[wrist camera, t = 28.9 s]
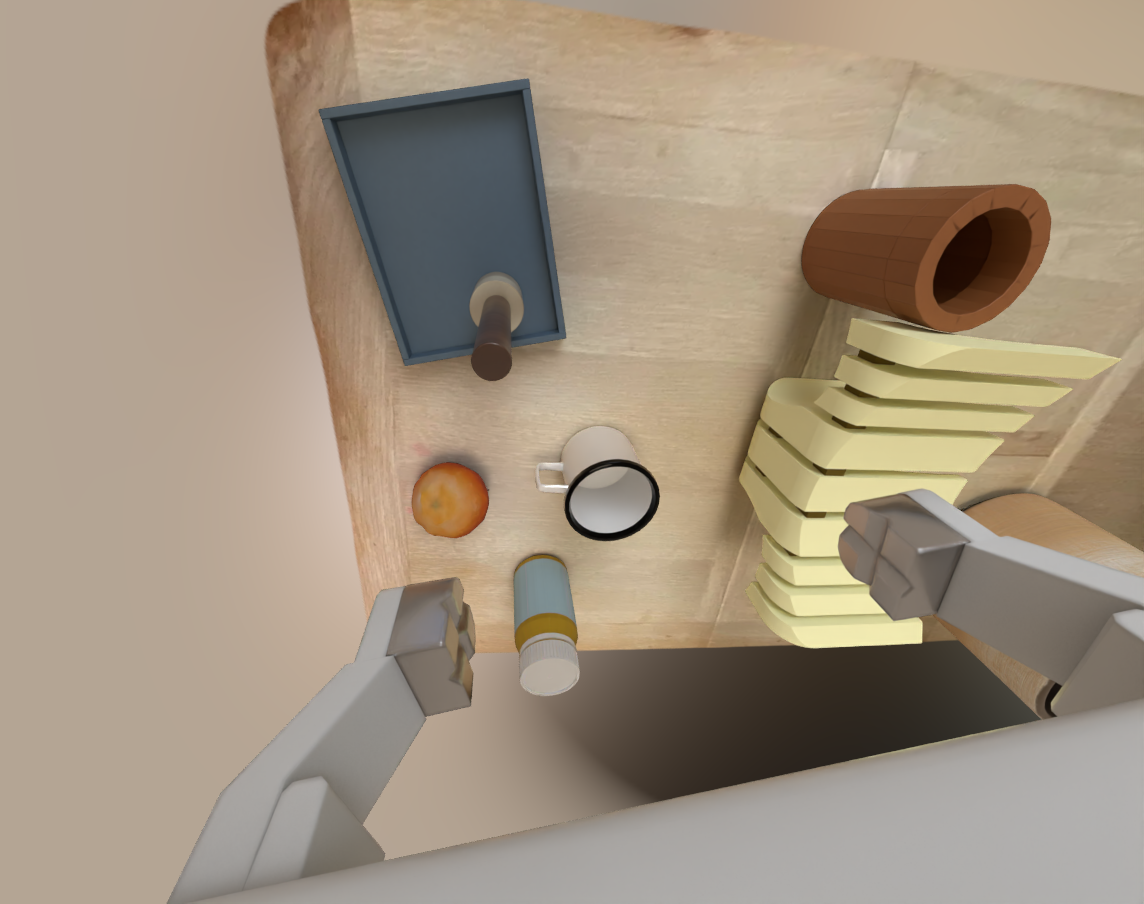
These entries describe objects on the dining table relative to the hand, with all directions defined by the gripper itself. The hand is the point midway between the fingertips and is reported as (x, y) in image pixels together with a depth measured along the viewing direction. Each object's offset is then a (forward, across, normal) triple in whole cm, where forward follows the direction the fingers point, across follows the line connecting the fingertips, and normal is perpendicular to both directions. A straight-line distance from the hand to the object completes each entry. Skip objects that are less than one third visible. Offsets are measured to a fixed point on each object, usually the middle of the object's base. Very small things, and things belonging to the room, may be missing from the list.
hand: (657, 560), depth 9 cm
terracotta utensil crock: (+37, -30, +1) cm, 47 cm away
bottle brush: (+36, +4, +1) cm, 37 cm away
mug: (+37, -2, +19) cm, 42 cm away
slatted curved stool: (+37, -28, +21) cm, 51 cm away
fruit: (+37, +13, +19) cm, 44 cm away
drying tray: (+37, +6, -5) cm, 38 cm away
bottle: (+37, +6, +35) cm, 52 cm away
